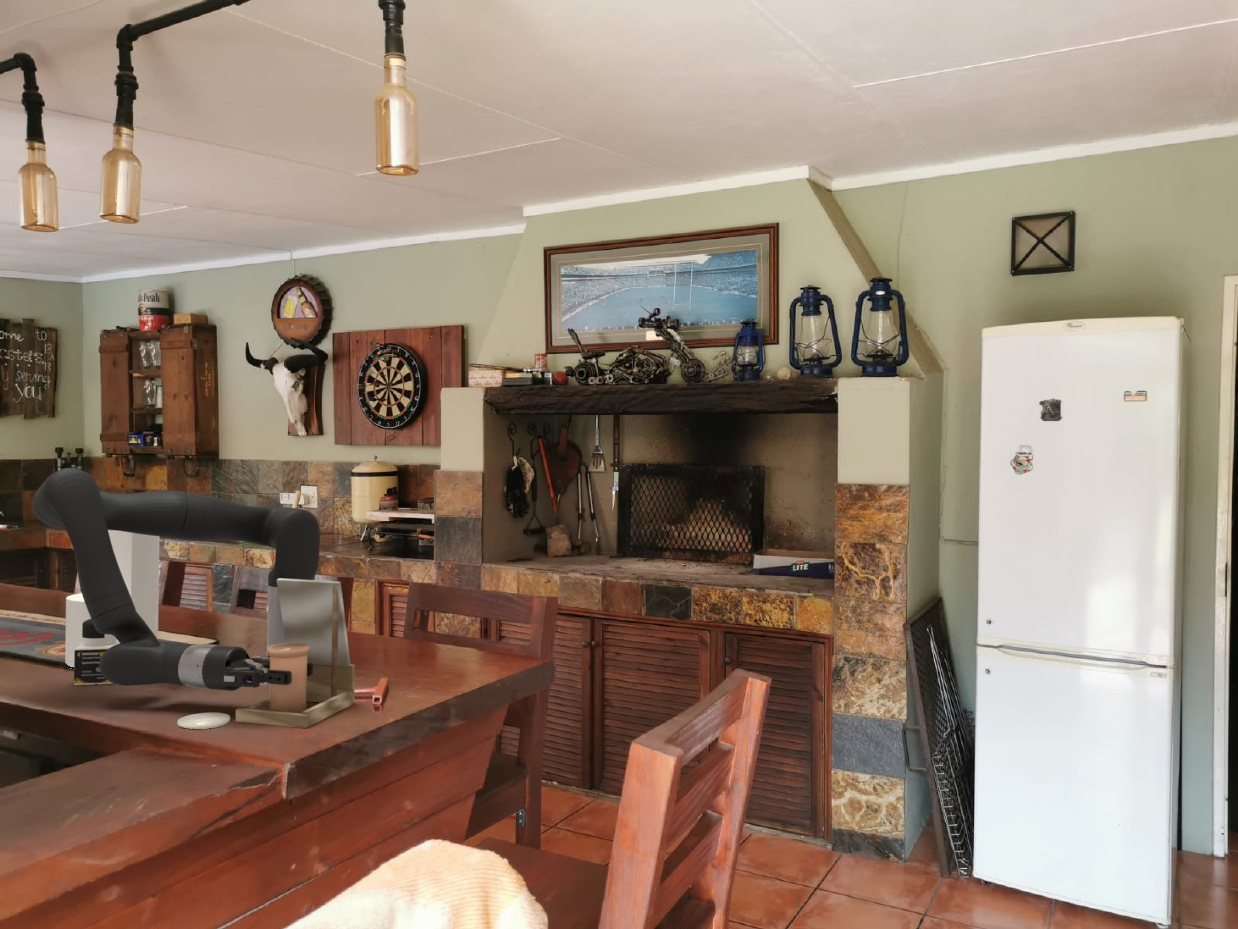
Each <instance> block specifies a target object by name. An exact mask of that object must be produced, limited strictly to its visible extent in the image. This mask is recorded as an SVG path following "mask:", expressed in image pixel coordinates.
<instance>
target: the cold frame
mask: <svg viewBox="0 0 1238 929" xmlns="http://www.w3.org/2000/svg"><path fill="white" fill-rule="evenodd" d="M277 587H278V594H279V601H280V608H281V615H282V622H283V629H284V636H285V643H306V644H309V645H310V653H309V654H308V655H307V662H308V663H312V664H313V674H312V675H310V676H307V699H306V702H313V703H314V702H315V703H318V704H316V705H313V706H311V707H309V708H306V710H305V711H303V714H300V713H288V712H277V711H269V698H267V699H265V700H263V701H260V702H258V703H254V704H253V705H250V706H248V707H246V708H242V707H240V708H236V709H235V723H244V722H245V723H247V724H257V725H267V726H279V727H289V728H290V727H291V728H300V729H307V728H309V727H311V726H313V725H315V724H318V723H319V722H321V721H323V720H325V719H327V718H329V717H331V716H333V715H334V714H337V713H339V712H340V711H343V710H345V709H347V708H349V707H350V706H353V705H354V704H355V688H356V687H355V681H356V679H355V677H356V676H355V675H356V673H355V671H356V665H355V664H351V658H350V657H351V656H350V649H349V648H350V646H349V640H348V631H347V630H348V629H347V624H346V616H345V615H346V614H345V607H344V599H343V591H342V589H343V588H342V582H341V581H335V580H316V579H315V580H301V579H283V578H279V579H277Z"/></svg>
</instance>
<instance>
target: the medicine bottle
mask: <svg viewBox="0 0 1238 929" xmlns="http://www.w3.org/2000/svg"><path fill="white" fill-rule="evenodd" d="M82 641H83V642H84V643H82V644H81V645H79V646H78V647H76V648H75V652H74V669H73V684H74V686H92V685H93V686H94V685H95V684H98V685H113V684H114V683H112V682H110V681H108V680H107V679H106V678H105V677H104V676H103V675H102V673H101V671H100V659H101V657H102V655H103V654H104V652H105V651H106V650H108V649H109V648H110V647H112V646H114V645H117V644H120V643H119V641H118V640H116V638H115V636H113V635H110V634H101V633H99V632H98V631H97V630H96V629H95V627H94V624H93V622H92V620H91V619H88V620H86V621H84V622H83V623H82ZM114 685H115V684H114Z"/></svg>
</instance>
